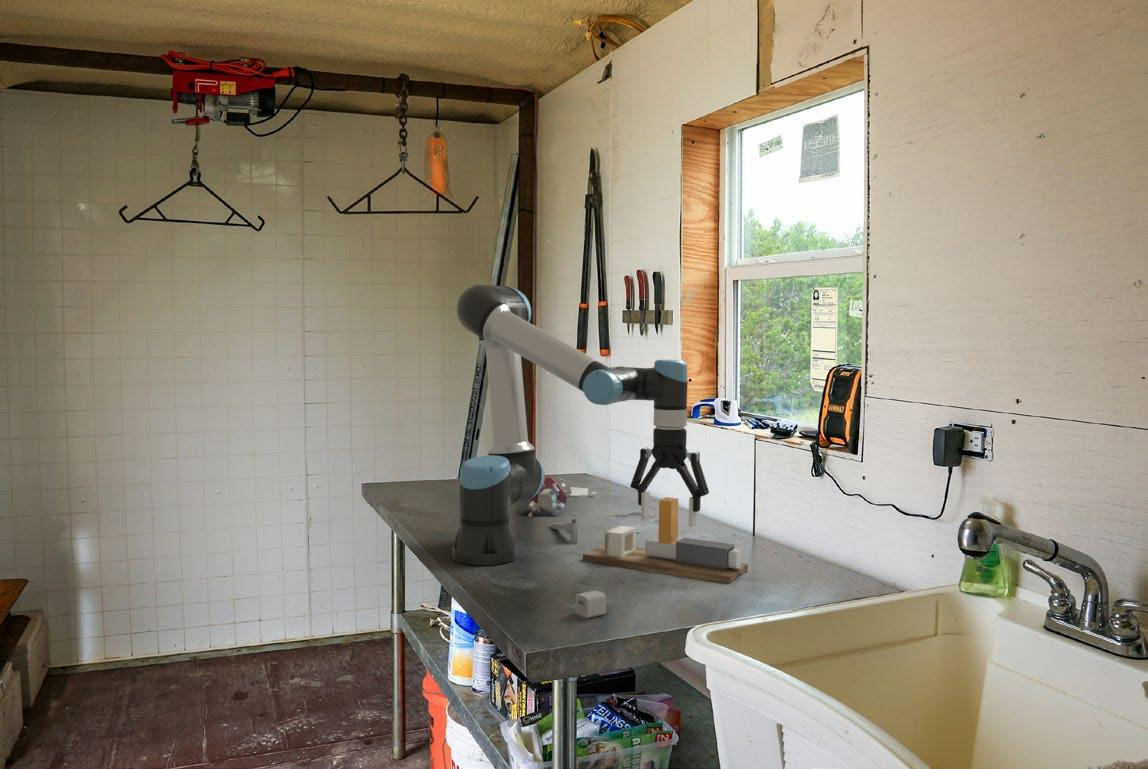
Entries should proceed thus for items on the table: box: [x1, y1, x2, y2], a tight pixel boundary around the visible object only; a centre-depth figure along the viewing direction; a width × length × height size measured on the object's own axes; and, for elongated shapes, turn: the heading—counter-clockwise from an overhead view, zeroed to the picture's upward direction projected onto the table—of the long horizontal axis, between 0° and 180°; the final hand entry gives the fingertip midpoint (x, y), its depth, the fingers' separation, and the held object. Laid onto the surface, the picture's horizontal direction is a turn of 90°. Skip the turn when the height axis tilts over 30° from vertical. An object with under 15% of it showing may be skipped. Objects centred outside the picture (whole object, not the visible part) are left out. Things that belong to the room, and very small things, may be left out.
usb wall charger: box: [575, 589, 615, 619], centre depth 172 cm, size 4×7×4 cm, turn 125°
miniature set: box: [560, 482, 597, 497], centre depth 292 cm, size 6×35×12 cm
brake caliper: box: [528, 475, 568, 517], centre depth 261 cm, size 11×11×12 cm
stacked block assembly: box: [644, 496, 743, 568], centre depth 202 cm, size 4×22×13 cm, turn 60°
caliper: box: [549, 518, 578, 544], centre depth 236 cm, size 20×1×6 cm, turn 19°
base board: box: [582, 543, 749, 584], centre depth 206 cm, size 12×36×2 cm, turn 60°
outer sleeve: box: [676, 537, 735, 571], centre depth 201 cm, size 5×12×5 cm, turn 60°
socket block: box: [604, 525, 637, 557], centre depth 212 cm, size 8×4×6 cm, turn 150°
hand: (668, 522), depth 205 cm, fingers open, 11 cm apart
